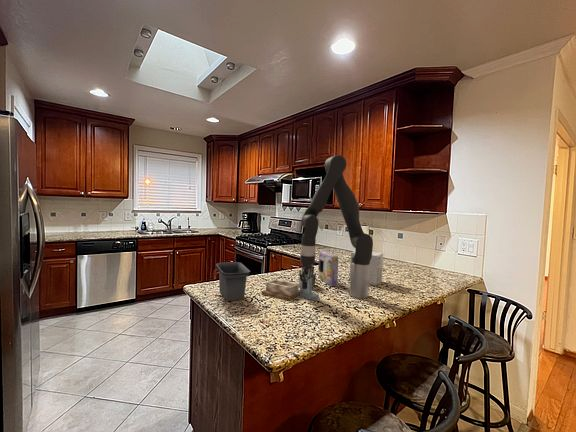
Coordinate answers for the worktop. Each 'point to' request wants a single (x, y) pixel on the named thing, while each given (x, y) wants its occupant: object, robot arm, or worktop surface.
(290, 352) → the worktop surface
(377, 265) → the supplement box
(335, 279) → the cake pan box
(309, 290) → the bracket
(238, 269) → the storage bin
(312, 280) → the medicine bottle
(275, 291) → the well block
